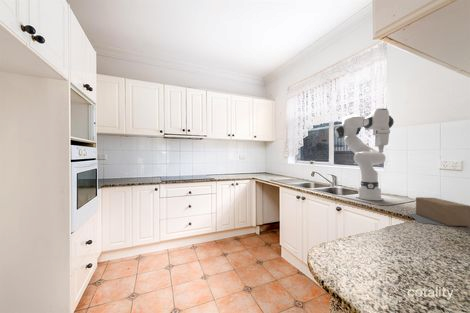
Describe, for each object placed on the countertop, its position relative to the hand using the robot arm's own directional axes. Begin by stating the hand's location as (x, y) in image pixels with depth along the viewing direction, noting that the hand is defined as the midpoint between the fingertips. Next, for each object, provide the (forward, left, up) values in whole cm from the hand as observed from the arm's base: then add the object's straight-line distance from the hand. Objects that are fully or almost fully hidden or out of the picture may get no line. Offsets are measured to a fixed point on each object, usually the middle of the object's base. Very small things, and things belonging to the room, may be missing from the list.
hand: (381, 152), depth 131 cm
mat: (+19, +17, -37) cm, 45 cm away
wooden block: (+9, +19, -32) cm, 38 cm away
